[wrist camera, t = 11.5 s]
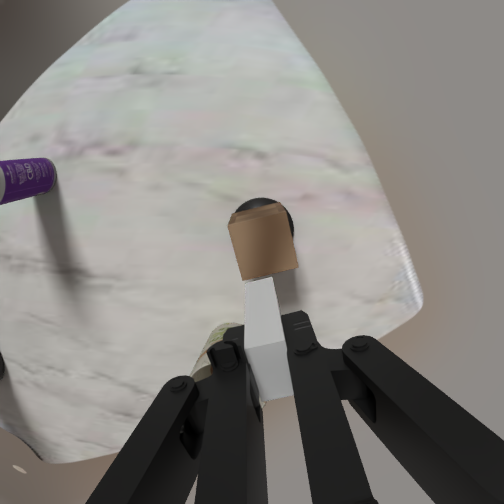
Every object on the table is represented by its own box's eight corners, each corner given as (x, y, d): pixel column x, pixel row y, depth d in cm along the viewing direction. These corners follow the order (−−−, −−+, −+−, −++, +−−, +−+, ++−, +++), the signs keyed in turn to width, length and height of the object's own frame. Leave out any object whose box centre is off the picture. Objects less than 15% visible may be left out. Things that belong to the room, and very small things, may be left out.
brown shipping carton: (244, 259, 36) (242, 280, 30) (232, 213, 34) (227, 225, 28) (290, 247, 35) (298, 267, 29) (279, 201, 34) (286, 211, 28)
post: (239, 265, 37) (236, 289, 30) (222, 206, 35) (215, 217, 28) (299, 251, 37) (309, 272, 30) (285, 191, 35) (293, 198, 28)
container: (62, 171, 34) (-22, 185, 19) (45, 201, 35) (-36, 226, 20) (41, 150, 33) (-43, 156, 19) (25, 179, 34) (-57, 196, 20)
